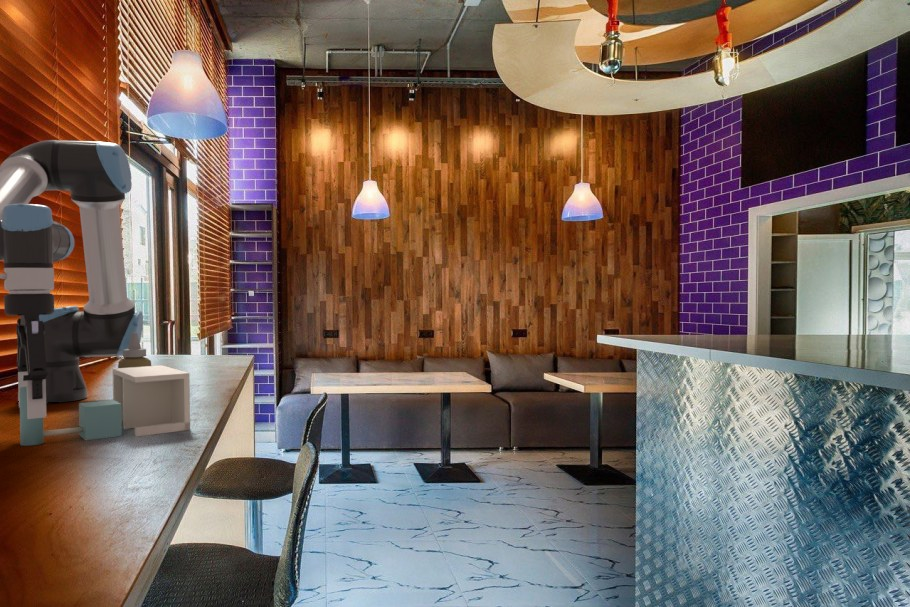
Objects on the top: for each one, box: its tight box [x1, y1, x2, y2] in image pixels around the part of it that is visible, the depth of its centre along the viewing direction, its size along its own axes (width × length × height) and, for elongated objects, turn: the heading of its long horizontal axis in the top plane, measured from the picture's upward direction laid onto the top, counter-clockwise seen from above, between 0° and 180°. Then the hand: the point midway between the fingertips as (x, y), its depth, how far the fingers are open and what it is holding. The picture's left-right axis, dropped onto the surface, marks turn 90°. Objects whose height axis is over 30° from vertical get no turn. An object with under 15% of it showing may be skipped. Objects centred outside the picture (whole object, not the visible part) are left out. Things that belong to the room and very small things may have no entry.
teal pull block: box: [19, 387, 123, 447], centre depth 127 cm, size 6×16×10 cm, turn 128°
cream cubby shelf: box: [112, 364, 191, 437], centre depth 139 cm, size 19×10×11 cm, turn 37°
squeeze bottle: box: [117, 333, 152, 368], centre depth 152 cm, size 8×8×18 cm
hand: (32, 412), depth 123 cm, fingers open, 13 cm apart
